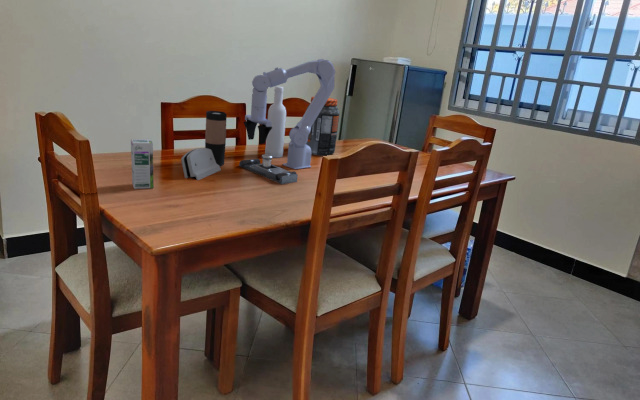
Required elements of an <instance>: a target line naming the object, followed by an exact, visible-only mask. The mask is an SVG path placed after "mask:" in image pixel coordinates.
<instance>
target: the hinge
mask: <svg viewBox="0 0 640 400" xmlns="http://www.w3.org/2000/svg"><path fill="white" fill-rule="evenodd" d="M180 161H181V165H182V169H183V174H184V179H188V178H194V177H195V178H196V181H199V180H202V179H204V178H207V177H209V176H211V175H214V174H215V173H217V172H221V166H219V165H218V164H216V161H215V158H214V156H213V153H212V150H211V149H208V148H205V147H200V148H199V147H198V148H194V149H191V150H190V151H188V152H186V153H185V154H184V155H182V156H181V159H180Z"/></svg>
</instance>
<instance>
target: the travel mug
mask: <svg viewBox="0 0 640 400" xmlns="http://www.w3.org/2000/svg"><path fill="white" fill-rule="evenodd" d="M227 115H228V114H227V113H226V112H224V111H219V110H207V111H206V112H205V117H206V118H205V134H204V135H205V136H204V137H205V138H204V139H205V140H204V148H208V149H211V150H212V153H213V156H214V158H215V161H216V164H218V165H219V166H220V167H222V166H224V164H225V157H226V156H225V155H226V154H225V153H226V145H227V144H226V140H227V139H226V138H227Z"/></svg>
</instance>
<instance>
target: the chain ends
mask: <svg viewBox="0 0 640 400" xmlns="http://www.w3.org/2000/svg"><path fill="white" fill-rule="evenodd" d="M238 166H239V167H240V168H242V169H245V170H247V171H250V172H252V173H254V174H257V175H259V176H261V177H264V178H266V179H267V180H271V181H272V182H276V184H279V185H288V184H293V183H297V182H298V175H299V174H297V172H296V171H289V170H287V169H285V168H282V167H280V166H277V165H275V164H272V163H271V169H265V168H262V163H261V160H260V159H259V158H252V159H251V158H249V159H243V160H242V159H241V160H239V164H238Z"/></svg>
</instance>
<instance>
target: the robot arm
mask: <svg viewBox="0 0 640 400" xmlns="http://www.w3.org/2000/svg"><path fill="white" fill-rule="evenodd" d="M306 73H308V74H309V73H311V74H314V75H316V76H317V78H318V81H319V85H320V87H319V88H318V90H317V91H316V93H315V95H314V96H313V97H314V98H313V100H312V102H311V101H310V103H309V104H308V106H309V107H308V106H307V107H308V109H307V108H306V109H307V110H305V112H304V114H303V116H302V117H301V118H300V120H299V121H298V122H297V123H296V124H295V126H294V127H292V128H291V129H290V131H289V133H288V136H289V139H290V141H289V142H288V148H287V149H288V150H287V157H286V158H287V160H286V161H287V162H285V163H282V166H285V167H287V168H289V169H292V170H300V169H308V168H312V165H311V159H312V154H311V148H310V147H309V146H308V145H306V143H307V141H308V135H309V133H310V131H311V127H312V125H313V123H314V121H315V120H316V118H317V116H318V115H319V113H320V111H321V110H322V108H323V106H324V105H325V103H326V101H327V100H328V98H330V96H331V95H332V92H333V91H334V89H335V82H336V81H335V77H336V76H335V75H336V69H335V66H334V64H333V62H332V61H330V60H328V59H324V58H320V59H315V60H310V61H307V62H303V63H301V64H298V65H296V66H293V67H290V68H287V69H284V68H282V67H280V68H279V67H278V66H277V67H275V68H274V70H269V71H267V72H266V71H264V72H262V74H257V75H255V76H254V77H253V79H252V81H251V84H252V86H253V87H252V95H251V109H250V114H245V116H244V120H245V121H243V124H244V127H245V129H246V133H247V139H248V140H250V141H251V140H252V141H253V140H254V139H255V132H256V127H257V129H258V134H259V135H258V136H259V139H258V140H259V144H261V145H263V144H265V145H266V139H267V136H268V134H269V132H270V130H271V129H272V127H271V121H269V120H268V118H266V114H267V102H268V93H267V92H268V89H269V88H275V87H276V86H279V85H283V84H286V83H287V82H288V80H289V79H291V78H293V77H296V76H299V75H300V76H301V75H303V74H304V75H305V74H306Z"/></svg>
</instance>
